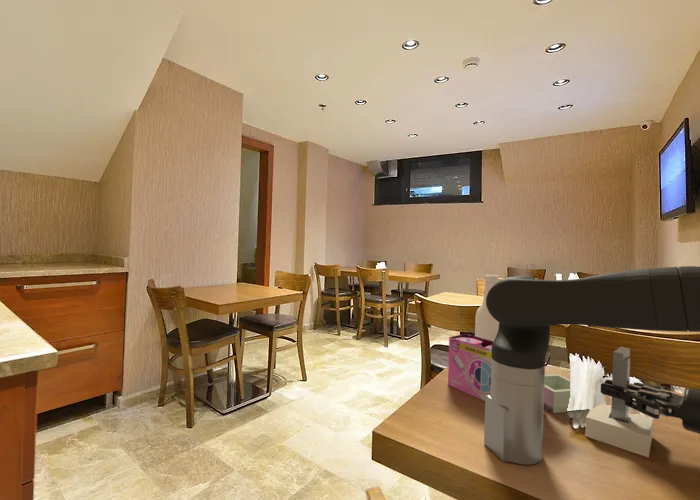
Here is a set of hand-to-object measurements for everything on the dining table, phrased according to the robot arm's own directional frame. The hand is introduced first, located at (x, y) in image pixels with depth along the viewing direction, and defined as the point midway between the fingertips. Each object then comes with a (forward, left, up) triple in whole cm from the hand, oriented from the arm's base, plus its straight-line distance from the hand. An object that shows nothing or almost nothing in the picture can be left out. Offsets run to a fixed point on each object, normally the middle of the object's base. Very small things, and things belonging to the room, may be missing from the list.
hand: (603, 386), depth 75 cm
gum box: (-14, +18, -10) cm, 25 cm away
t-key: (+1, -3, -10) cm, 10 cm away
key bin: (0, +13, -10) cm, 17 cm away
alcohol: (-5, +34, -10) cm, 36 cm away
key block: (+1, -3, -10) cm, 10 cm away
